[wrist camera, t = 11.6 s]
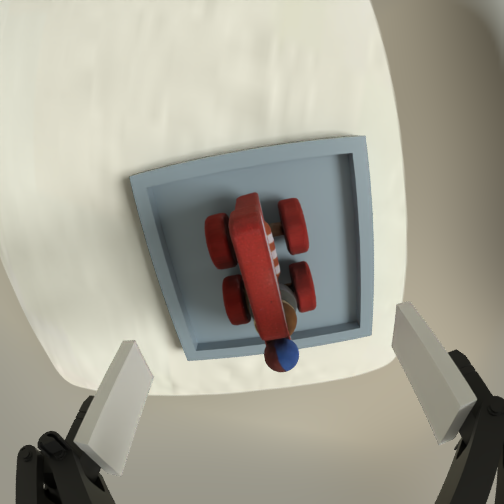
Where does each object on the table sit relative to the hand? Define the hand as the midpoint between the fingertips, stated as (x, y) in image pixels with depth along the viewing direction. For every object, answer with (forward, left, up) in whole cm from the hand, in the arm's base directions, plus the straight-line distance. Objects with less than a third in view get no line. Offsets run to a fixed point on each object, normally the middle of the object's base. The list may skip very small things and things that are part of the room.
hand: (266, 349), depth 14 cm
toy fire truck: (0, 0, -12) cm, 12 cm away
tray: (0, 0, -12) cm, 12 cm away
